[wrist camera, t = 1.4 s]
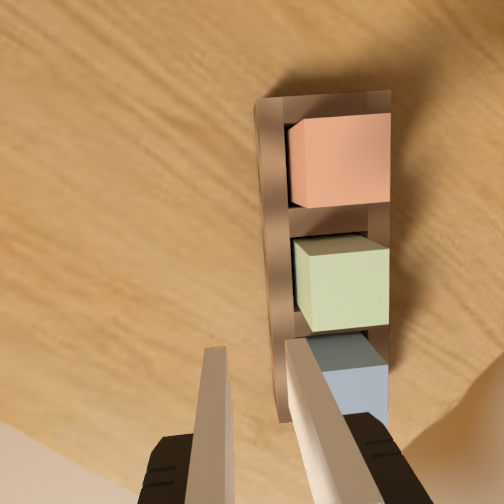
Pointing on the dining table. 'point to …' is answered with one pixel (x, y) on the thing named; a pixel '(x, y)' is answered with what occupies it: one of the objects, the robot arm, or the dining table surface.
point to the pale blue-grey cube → (353, 372)
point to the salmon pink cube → (340, 160)
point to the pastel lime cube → (341, 281)
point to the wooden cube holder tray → (307, 219)
